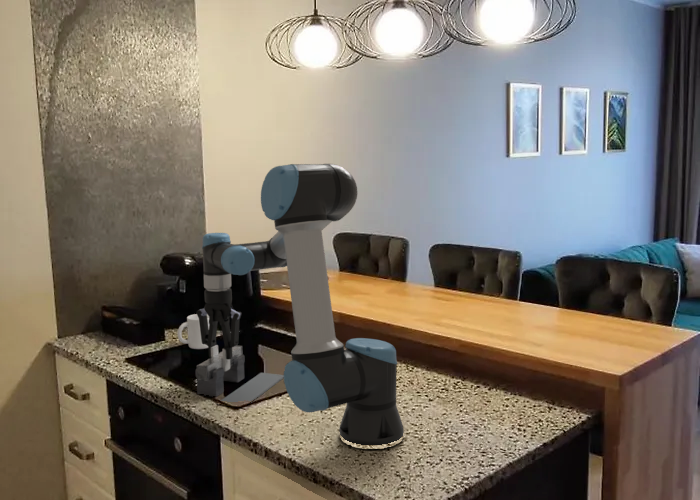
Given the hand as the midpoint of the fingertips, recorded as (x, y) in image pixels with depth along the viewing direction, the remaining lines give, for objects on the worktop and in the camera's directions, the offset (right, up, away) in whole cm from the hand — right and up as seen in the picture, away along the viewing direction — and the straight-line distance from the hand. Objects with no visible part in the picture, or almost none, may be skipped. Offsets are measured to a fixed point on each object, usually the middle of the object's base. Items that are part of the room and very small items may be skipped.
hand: (221, 369), depth 196 cm
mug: (-16, +1, +39) cm, 42 cm away
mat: (+9, -5, -3) cm, 11 cm away
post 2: (+2, -4, +6) cm, 8 cm away
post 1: (-2, -6, -5) cm, 8 cm away
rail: (0, 0, 0) cm, 0 cm away
